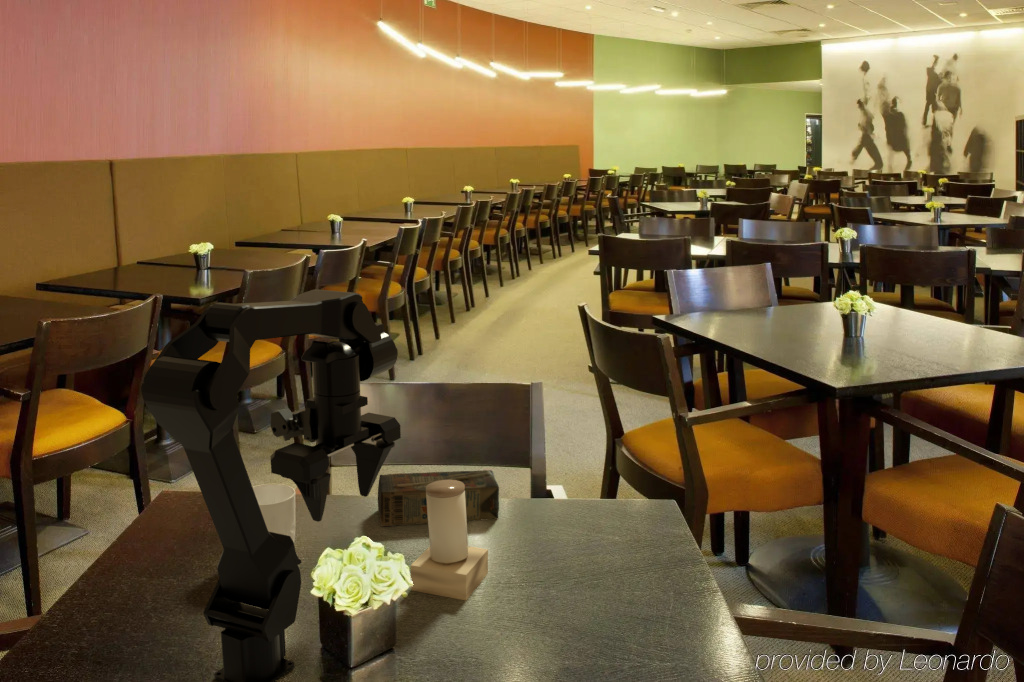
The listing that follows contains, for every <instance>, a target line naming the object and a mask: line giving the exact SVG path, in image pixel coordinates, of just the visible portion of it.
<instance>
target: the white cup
mask: <svg viewBox="0 0 1024 682" xmlns="http://www.w3.org/2000/svg"><path fill="white" fill-rule="evenodd" d="M252 487H253V490H254V493H255V496H256V498H257V501H258V504H259V507H260V510H261V512H262V515H263V518H264V521H265V524H266V526H267V529H268V531H269V532H273V533H278V534H283V535H287V536H290V537H291V538H292V540H293V542H294V543H295V539H296V490H295V488H294V487H292V486H290V485H288V484H283V483H263V484H258V485H252Z"/></svg>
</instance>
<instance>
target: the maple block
mask: <svg viewBox="0 0 1024 682" xmlns="http://www.w3.org/2000/svg"><path fill="white" fill-rule="evenodd" d="M488 575H489V549H487V548H480V547H476V546H469V545H468V557H467V558H465V559H463V560H461V561H458V562H453V563H450V564H447V565H445V564H443V563H440V562H436V561H434V560H432V559H431V557H430V545H429V546H428V548H427V549H425V550H424V552H422V553H421V554H420V555H419V556H418V557H417V559H416V560H415V561H413V562H412V563H411V565H410V579H411V578H412V581H413V584H414V585H413V587H411V586H410V589H411V590H410V591H414V592H420V593H425V594H430V595H436V596H441V597H446V598H450V599H451V598H452V599H456V600H463V601H467V600H468V599H469V598H470V597H471V596H472V594H473V593H474V591H475V590H476V589H477V588H478V587H479V585H480V584H481V583H482V582H481V581H483V580H484V579H485V578H486V577H487V576H488ZM485 576H486V577H485ZM484 577H485V578H484ZM483 578H484V579H483ZM476 587H477V588H476ZM472 592H473V593H472Z"/></svg>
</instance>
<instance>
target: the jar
mask: <svg viewBox="0 0 1024 682" xmlns="http://www.w3.org/2000/svg"><path fill="white" fill-rule="evenodd" d="M426 499H427V514H428V524H427V527H428V541H429V546H430V557H431V559H432V560H434V561H436V562H440V563H443V564H445V565H447V564H450V563H453V562H458V561H461V560H463V559H465V558H467V557H468V546H469V541H468V538H469V537H468V524H467V523H468V521H467V519H466V501H465V485H464V483H463V482H461V481H457V480H439V481H435V482H432V483H430V484H428V485H427V486H426Z"/></svg>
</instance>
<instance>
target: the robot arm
mask: <svg viewBox="0 0 1024 682" xmlns="http://www.w3.org/2000/svg"><path fill="white" fill-rule="evenodd" d="M302 335H303V336H304V335H307V336H313V337H314V336H315V337H320V338H321V339H322V338H323V339H330V340H331V339H332V340H333V341H329V342H328V341H322V340H321V341H320V340H312V342H311V344H310V346H309V347H308V348H307V349H306V350H305V351H304V352H303V354H302V355H301V361H303V362H308V363H312V365H311V366H312V387H313V397H311V398H308V399H306V401H305V404H304V406H305V407H304V408H301V409H298V410H295V411H291V409H290V408H289V407H286V408H284V409H279V410H276V411H273V412H271V413H270V428H271V432H272V435H274V436H275V437H276V438H279V437H283V440H284V442H286V441H290V440H291V439H292V438H297V437H301V436H303V440H304V441H308V442H309V441H310V442H313V441H316V444H315V445H308V444H304V443H301V442H296V441H295V442H292V443H290V444H287V445H286V446H285V445H284V446H283V447H281V448H278V449H276V450H274V451H273V452H272V454H271V455H270V473H271V474H274V475H278V476H280V477H282V478H285V479H289V480H291V482H293V483H294V484H295V485H296V487H297V489H298V490H299V492H300V494H301V497H302V498H303V501H304V502H305V505H306V507H307V509H308V513H309V515H310V516H311V519H312V520H313V521H314V522H318V523H320V522H321V521H322V519H323V516H324V512H325V507H326V501H327V496H328V490H329V486H330V480H331V475H332V474H331V473H329V472H327V470H328V468H329V467H330V457H331V456H334V455H337V454H338V453H340V452H342V451H344V450H347V449H349V448H351V450H352V452H353V453H354V455H355V463H356V475H357V484H358V490H359V495H360V496H361V497H366V498H367V497H368V496H369V495H370V493H371V490H372V488H373V486H374V483H375V482H376V480H377V477H378V476H379V473H380V471H381V469H382V467H383V465H384V463H385V462H386V459H387V457H388V456H389V454H390V452H391V450H392V448H394V447H395V445H396V443H395V441H397V440H399V439H401V437H402V436H401V435H402V434H401V424H400V423H399V421H398V420H397V419H396V417H394V416H389V415H383V414H379V413H378V414H377V413H373V412H367V413H364V414H362V411H361V410H362V408H363V407H365V406H367V405H369V403H368V402H369V401H368V396H364V395H361V382H364V381H366V380H369V379H371V378H373V377H375V376H378V375H381V374H383V373H385V372H387V371H389V370H391V369H392V368H394V365H396V363H397V360H398V356H399V353H398V348H397V346H396V343H395V341H394V340H393V339H392V337H391V336H390V335H389V334H388V333H386V332H385V324H384V323H383V322H382V323H381V322H375V321H374V318H373V316H372V315H371V312H370V311H369V309H368V307H367V305H366V304H365V303H364V301H363V296H362V295H361V294H360V293H357V292H353V291H352V292H350V291H340V290H339V291H338V290H328V289H327V290H326V289H311V290H309V291H308V290H307V291H305V292H302V293H300V294H298V295H297V296H296V297H295V298H294V299H291V300H282V301H263V302H247V303H246V302H243V303H229V302H228V303H227V302H216V303H214V304H213V303H212V304H211V305H208V306H207V307H206V308H205V309H204V311H203V312H202V313H201V315H200V316H199V318H198V319H197V320H196V322H194V323H193V324H192V325H190V326H189V327H187V328H186V329H185V330H183V331H182V332H181V333H179V334H178V335H176V336H175V337H173V338H172V339H171V340H169V341H168V342H167V343H166V345H165V346H164V347H163V349H162V350H161V351H160V353H159V354H158V356H157V357H156V358H155V360H154V361H153V363H152V364H151V365H150V366H149V368H148V370H147V371H146V373H145V375H144V377H143V382H142V383H141V385H140V389H141V396H142V401H143V402H144V404H145V406H146V407H147V409H148V411H149V412H150V413H151V415H152V417H153V419H154V420H155V421H156V423H157V424H158V425H159V427H161V428H162V429H163V430H164V431H165V432H166V433H168V434H169V435H170V436H171V437H173V439H174V440H176V441H177V442H178V443H179V444H180V445H181V446H182V448H183V449H184V452H185V454H186V457H187V460H188V462H189V465H190V467H191V470H192V472H193V475H194V477H195V481H196V482H197V485H198V487H199V489H200V492H201V495H202V498H203V500H204V504H205V505H206V507H207V511H208V513H209V515H210V517H211V520H212V522H213V525H214V528H215V530H216V533H217V535H218V537H219V540H220V542H221V545H222V548H223V549H222V552H221V554H220V557H219V560H218V563H217V567H216V569H217V574H218V580H217V583H216V585H215V586H214V589H213V590H212V593H211V595H210V597H209V599H208V601H207V603H206V606H205V608H204V610H203V616H204V618H205V621H206V623H207V625H208V626H211V627H217V628H222V629H223V630H221V631H220V638H221V641H220V642H221V652H222V668H220V669H219V670H217V671H216V672H214V674H213V679H214V680H216V681H218V682H277V681H278V680H279V679H280V678H282V677H283V676H285V675H286V674H287V673H289V672H290V671H292V670H293V669H294V668H295V667H296V666H295V665H296V663H295V662H294V661H293V660H290V659H287V658H285V657H286V656H287V655H286V654H287V652H286V651H287V650H286V634H285V631H286V629H288V628H289V627H290V626H291V625H293V624H294V623H296V619H297V611H298V606H299V601H300V600H299V598H300V594H301V586H302V575H301V570H300V567H299V565H300V564H302V559H300V558H299V556H298V555H297V551H296V547H295V541H294V542H293V540H292V538H291V537H290V536H287V535H283V534H278V533H273V532H269V531H268V529H267V526H266V524H265V521H264V518H263V515H262V512H261V510H260V507H259V504H258V501H257V498H256V496H255V493H254V490H253V485H252V482H251V480H250V476H249V474H248V471H247V468H246V465H245V463H244V460H243V459H244V458H243V457H242V454H241V451H240V448H239V446H238V443H237V440H236V438H235V435H234V431H233V428H234V424H235V422H236V419H237V417H238V413H239V410H240V401H239V397H238V393H239V391H240V390H241V388H242V386H243V385H244V383H245V381H246V380H247V378H248V376H249V374H250V372H251V371H250V370H251V349H252V348H253V345H254V344H255V342H256V341H258V340H270V339H276V338H278V339H279V338H287V337H294V336H302ZM335 340H336V341H335ZM337 340H338V341H337ZM219 342H225V343H226V342H227V343H229V344H228V352H227V353H226V355H225V356H224V358H223V359H222V361H221V362H218V361H213V360H206V359H200V358H201V357H202V356H204V355H205V354H207V353H208V352H210V351H211V350H213V348H215V347H216V346H217V345H218V343H219Z"/></svg>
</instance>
